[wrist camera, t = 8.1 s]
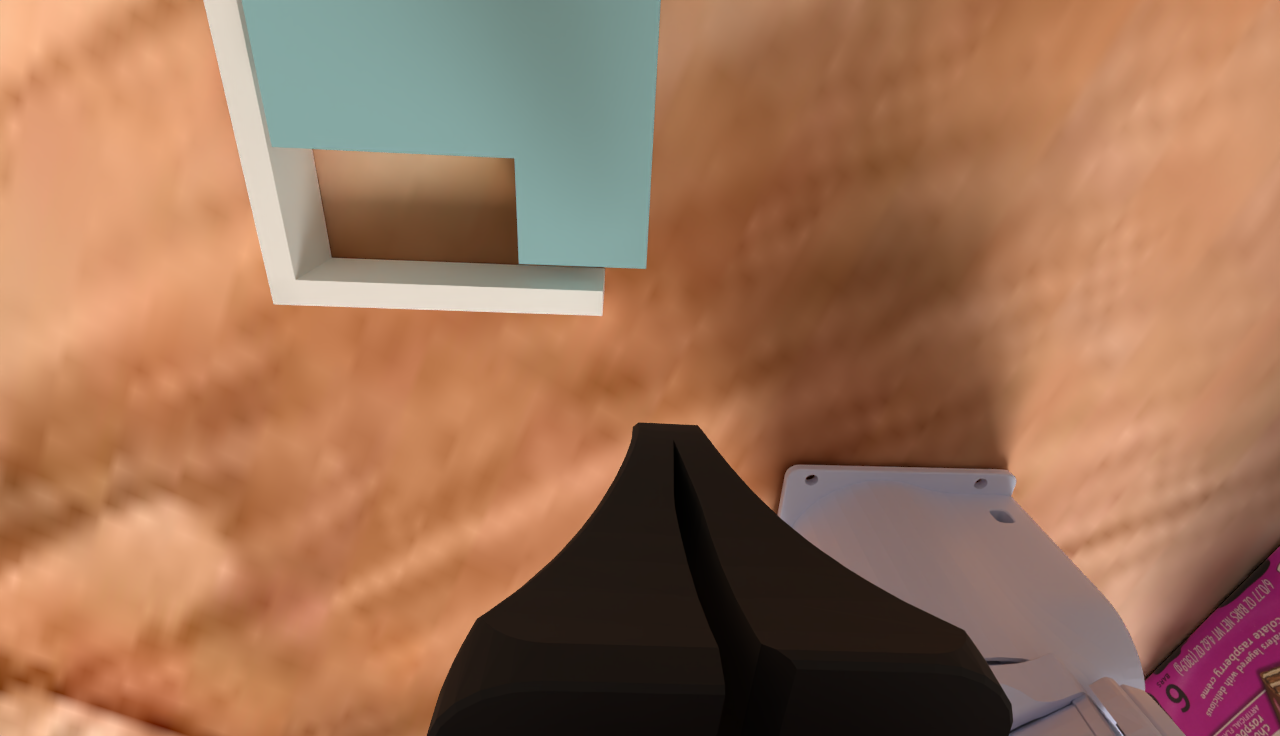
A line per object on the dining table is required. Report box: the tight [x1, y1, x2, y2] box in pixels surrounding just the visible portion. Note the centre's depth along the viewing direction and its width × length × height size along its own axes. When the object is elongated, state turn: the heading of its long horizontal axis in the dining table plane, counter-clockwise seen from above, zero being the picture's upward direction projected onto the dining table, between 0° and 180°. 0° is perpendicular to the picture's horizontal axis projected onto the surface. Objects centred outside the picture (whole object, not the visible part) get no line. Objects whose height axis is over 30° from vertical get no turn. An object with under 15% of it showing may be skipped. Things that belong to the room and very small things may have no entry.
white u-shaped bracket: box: [203, 0, 605, 316], centre depth 17 cm, size 10×13×2 cm
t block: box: [242, 0, 661, 269], centre depth 16 cm, size 10×9×4 cm
